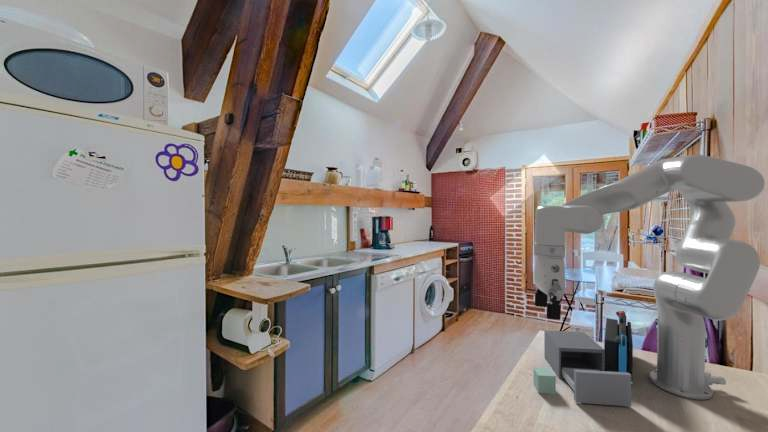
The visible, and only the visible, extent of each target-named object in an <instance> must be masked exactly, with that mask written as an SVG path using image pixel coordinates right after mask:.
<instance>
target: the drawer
mask: <svg viewBox="0 0 768 432" xmlns="http://www.w3.org/2000/svg"><path fill="white" fill-rule="evenodd" d="M561 374H562V375H563V377H564V378H565V379H564V380H565V381H566V383H568V385H569V386H570V387H571V389H572V391H573V401H575V403H576V404H577V403H579V404H592V405H604V406H605V405H606V406H618V407H632V387H631V374H629V373H626V372H609V371H600V370H599V369H581V368H564V367H561Z"/></svg>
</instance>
